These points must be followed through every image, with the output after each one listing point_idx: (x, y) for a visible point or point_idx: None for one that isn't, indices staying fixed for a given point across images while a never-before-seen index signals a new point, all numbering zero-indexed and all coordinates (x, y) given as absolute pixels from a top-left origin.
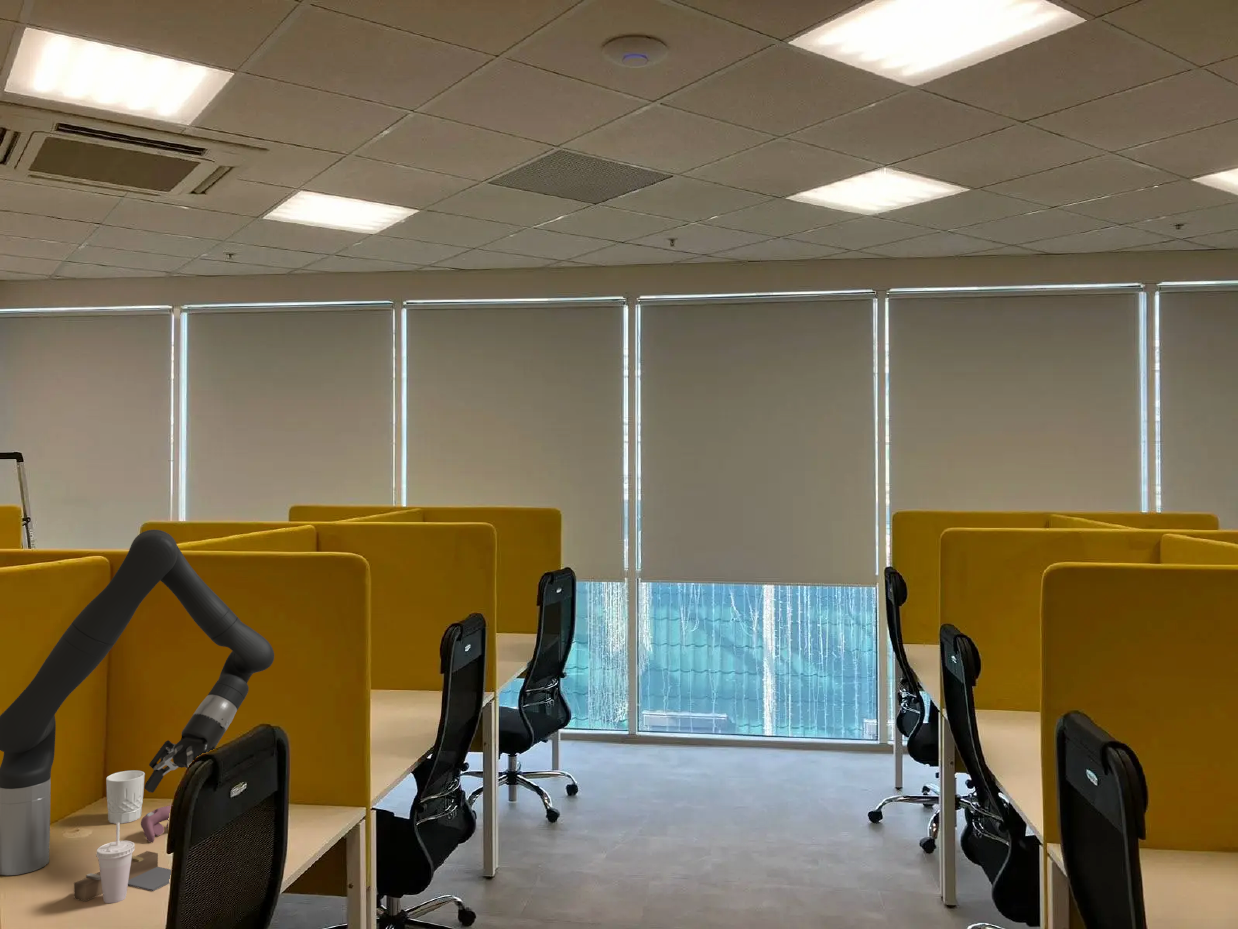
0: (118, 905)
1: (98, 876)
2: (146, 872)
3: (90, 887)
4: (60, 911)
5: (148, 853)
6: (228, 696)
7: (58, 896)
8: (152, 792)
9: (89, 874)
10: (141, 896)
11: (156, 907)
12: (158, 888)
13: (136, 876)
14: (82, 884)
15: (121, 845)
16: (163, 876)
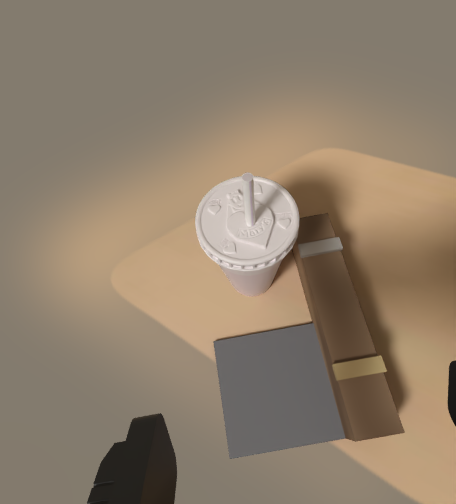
0: (215, 265)
1: (306, 248)
2: (329, 393)
3: None
4: None
5: (378, 421)
6: None
7: (361, 220)
8: (452, 416)
9: (337, 242)
10: (213, 313)
11: (137, 302)
12: (216, 358)
13: (323, 362)
14: (302, 218)
15: (235, 225)
16: (263, 403)
